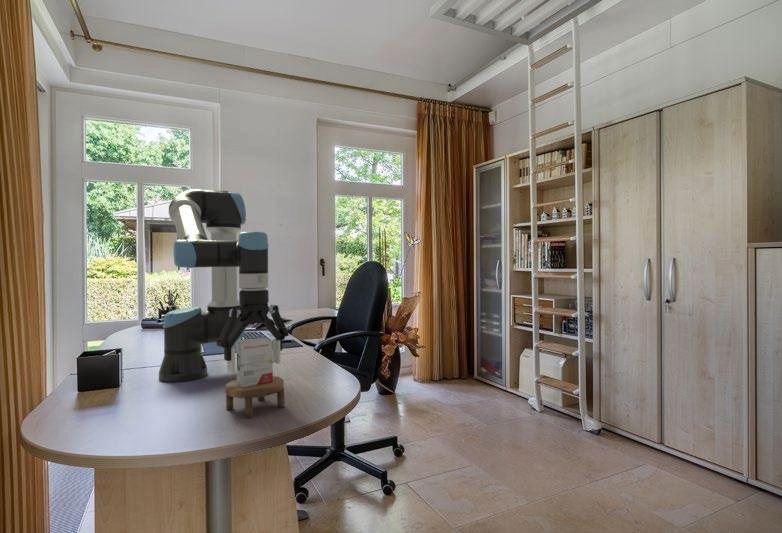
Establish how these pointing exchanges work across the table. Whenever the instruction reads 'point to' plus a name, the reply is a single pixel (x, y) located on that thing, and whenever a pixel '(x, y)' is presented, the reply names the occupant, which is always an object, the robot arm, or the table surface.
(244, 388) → the footstool
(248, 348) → the ink box
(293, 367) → the table surface
